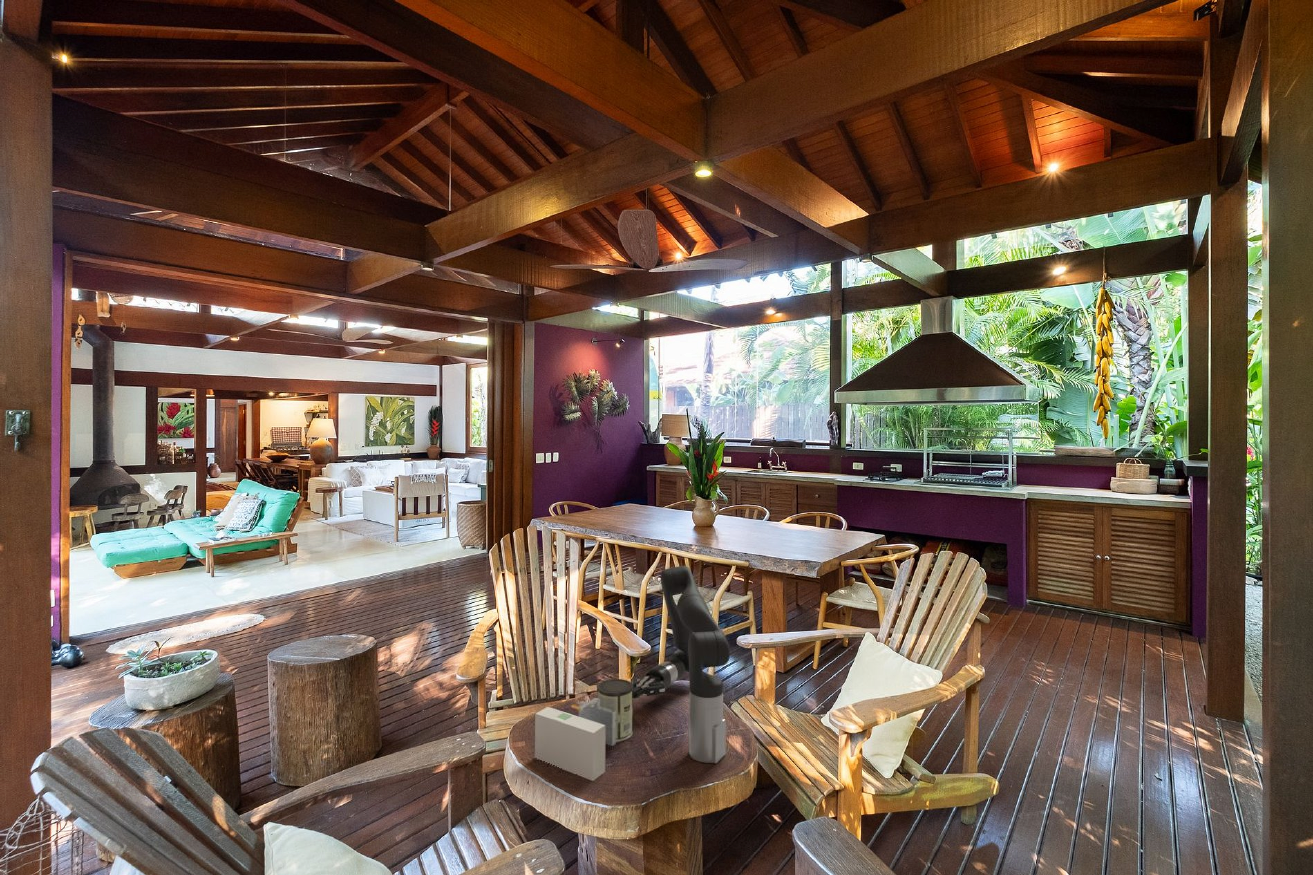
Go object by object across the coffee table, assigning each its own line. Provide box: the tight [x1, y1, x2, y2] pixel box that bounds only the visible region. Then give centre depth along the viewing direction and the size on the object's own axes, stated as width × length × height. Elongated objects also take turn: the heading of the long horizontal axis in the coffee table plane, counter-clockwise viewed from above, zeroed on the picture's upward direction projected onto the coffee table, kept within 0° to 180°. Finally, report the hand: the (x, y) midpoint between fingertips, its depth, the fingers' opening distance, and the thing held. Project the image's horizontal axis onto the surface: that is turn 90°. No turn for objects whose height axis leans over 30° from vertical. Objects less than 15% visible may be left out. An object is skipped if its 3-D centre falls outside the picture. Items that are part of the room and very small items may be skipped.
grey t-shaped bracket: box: [571, 697, 617, 747], centre depth 163 cm, size 12×8×11 cm, turn 58°
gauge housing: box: [534, 706, 606, 782], centre depth 156 cm, size 20×5×12 cm, turn 58°
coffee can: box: [597, 678, 634, 743], centre depth 173 cm, size 10×10×14 cm
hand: (632, 695), depth 181 cm, fingers closed
